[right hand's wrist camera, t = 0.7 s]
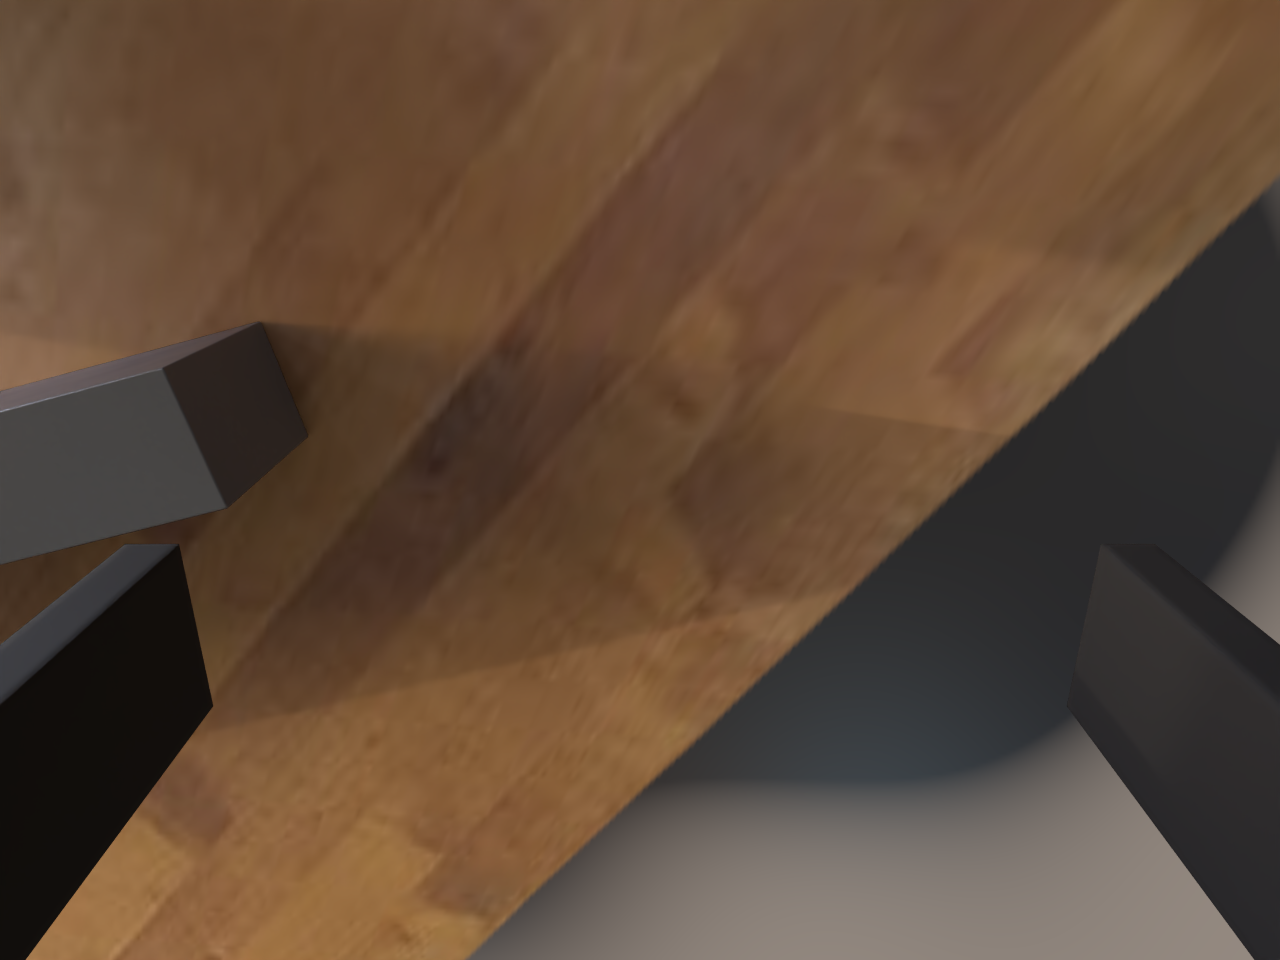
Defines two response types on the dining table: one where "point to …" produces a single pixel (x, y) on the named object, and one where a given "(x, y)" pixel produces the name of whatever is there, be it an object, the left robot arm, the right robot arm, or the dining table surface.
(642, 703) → the dining table surface
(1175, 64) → the dining table surface
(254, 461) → the beam
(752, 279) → the dining table surface
